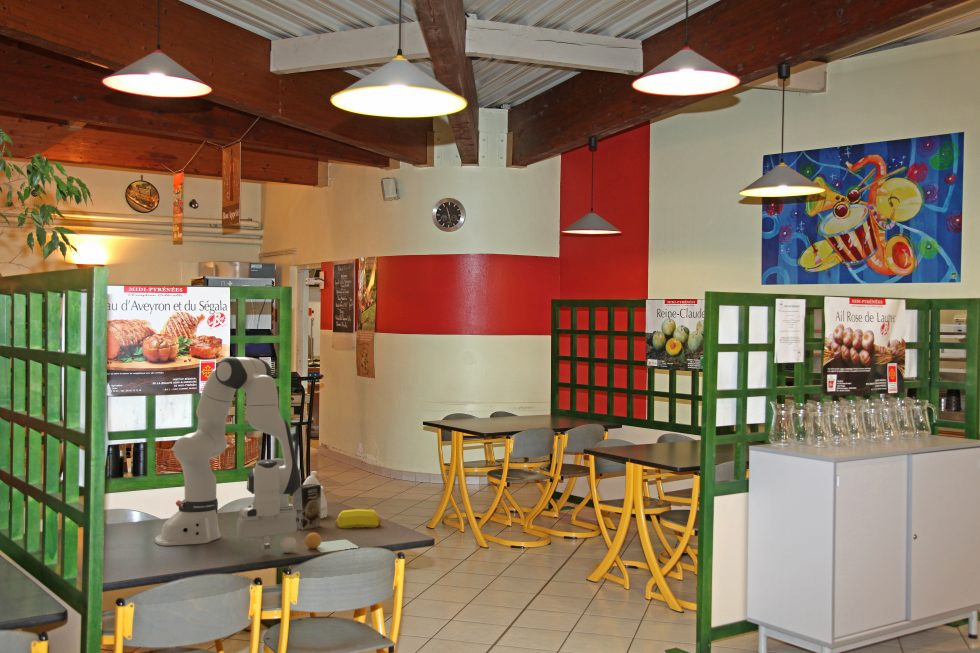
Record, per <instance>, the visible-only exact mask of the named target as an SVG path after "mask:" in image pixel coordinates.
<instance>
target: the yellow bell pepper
mask: <svg viewBox="0 0 980 653" xmlns="http://www.w3.org/2000/svg"><path fill="white" fill-rule="evenodd" d="M381 523H382V519H381V518H379V514H378V512H376V511H375V509H364V508H357V509H356V508H355V509H347V510H346V509H344V510H342V511H341V512H340V513H339V514H338V516H337V519H335V521H334V524H335V526H336V527H338V528H339V529H351V528H350V527H355V528H364V527H374V528H377V527H379V526H381Z"/></svg>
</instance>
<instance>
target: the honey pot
mask: <svg viewBox="0 0 980 653" xmlns="http://www.w3.org/2000/svg"><path fill="white" fill-rule="evenodd" d="M317 474H318V471H315V470H313V471H310V475H309V476H307V478H306V479H305V480H304V482H303V483H302V485H306V484H316V485H321V484H320V481H319V480H318V479H317V477H316V476H317ZM324 489H325V488H324V486H322V485H321V515H320V518H321V519H323V518H324V517H325V518H327V517H328V502H327V501H326V500H327V499H326V497H325V493H324V492H323V490H324ZM325 518H324V519H325Z"/></svg>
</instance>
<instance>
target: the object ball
mask: <svg viewBox="0 0 980 653" xmlns="http://www.w3.org/2000/svg"><path fill="white" fill-rule="evenodd" d="M304 542H305V543H304V544H305V545H306V547H307V548H309V549H310V550H313V549H315V548H317V547H319V545H320V544H321V542H322V537H321V536H320V534H319V533H317V532H309V533H308V534H307V535H306V537H305V539H304ZM315 550H316V549H315Z"/></svg>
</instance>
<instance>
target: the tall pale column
mask: <svg viewBox="0 0 980 653" xmlns="http://www.w3.org/2000/svg"><path fill="white" fill-rule="evenodd" d="M268 460H274V461H276V462H278V465H279V466H283V465H284V459H283V458H279V457H278V458H277V457H276V458H275V457H274V458H272V459H268ZM279 496H280V507H289V506H290V494H279Z"/></svg>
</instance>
